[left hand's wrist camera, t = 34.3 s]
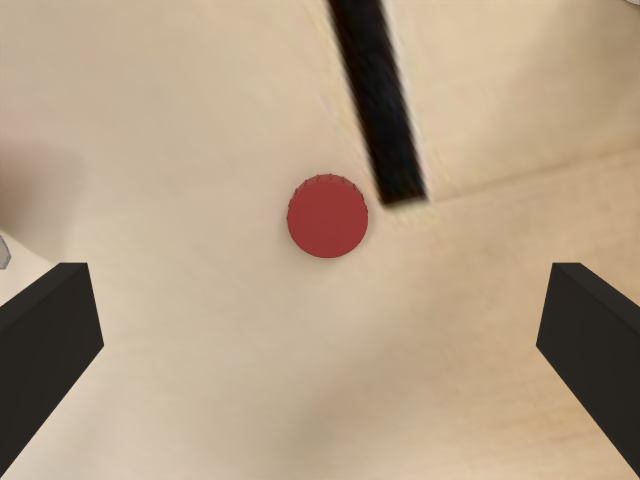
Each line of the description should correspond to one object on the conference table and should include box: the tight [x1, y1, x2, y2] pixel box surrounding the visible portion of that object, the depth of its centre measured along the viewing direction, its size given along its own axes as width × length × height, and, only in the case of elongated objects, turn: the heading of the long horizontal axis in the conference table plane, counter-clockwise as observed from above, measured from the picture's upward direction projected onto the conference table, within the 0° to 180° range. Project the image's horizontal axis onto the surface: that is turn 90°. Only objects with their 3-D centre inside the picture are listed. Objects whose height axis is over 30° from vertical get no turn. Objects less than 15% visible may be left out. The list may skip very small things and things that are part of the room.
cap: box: [287, 174, 368, 258], centre depth 23 cm, size 4×4×2 cm
